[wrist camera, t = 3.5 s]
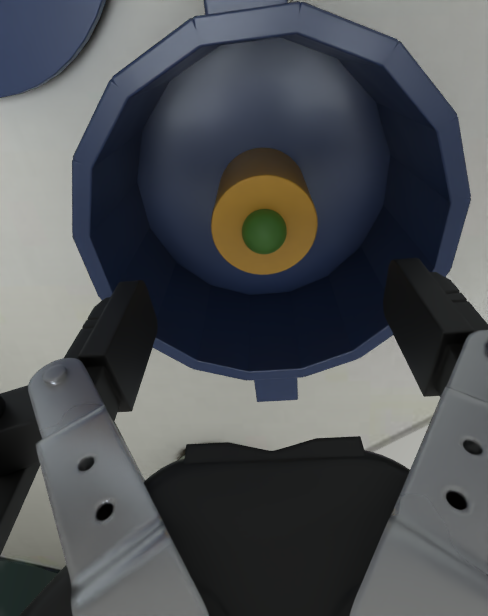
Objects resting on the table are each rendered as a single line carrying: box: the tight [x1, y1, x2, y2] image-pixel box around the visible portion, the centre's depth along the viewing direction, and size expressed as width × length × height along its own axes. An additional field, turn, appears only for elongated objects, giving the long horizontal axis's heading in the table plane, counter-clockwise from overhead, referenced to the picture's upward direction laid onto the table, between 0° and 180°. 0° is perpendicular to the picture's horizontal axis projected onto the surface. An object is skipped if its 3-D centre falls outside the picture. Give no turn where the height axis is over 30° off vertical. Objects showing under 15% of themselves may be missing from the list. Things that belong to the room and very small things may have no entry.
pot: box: [72, 0, 471, 402], centre depth 17 cm, size 15×20×8 cm
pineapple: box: [211, 148, 318, 275], centre depth 17 cm, size 5×5×6 cm
